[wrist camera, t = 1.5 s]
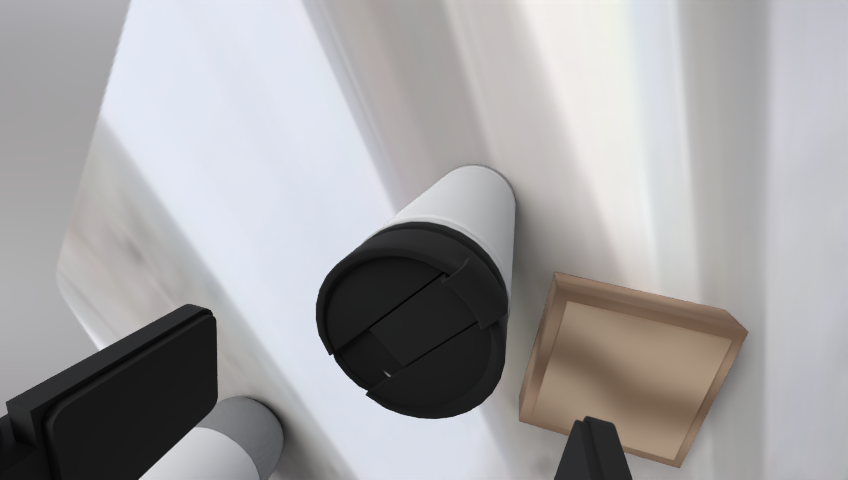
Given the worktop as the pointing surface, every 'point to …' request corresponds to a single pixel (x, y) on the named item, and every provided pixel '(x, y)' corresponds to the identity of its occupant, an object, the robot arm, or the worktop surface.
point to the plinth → (628, 365)
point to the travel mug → (427, 299)
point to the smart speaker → (225, 445)
